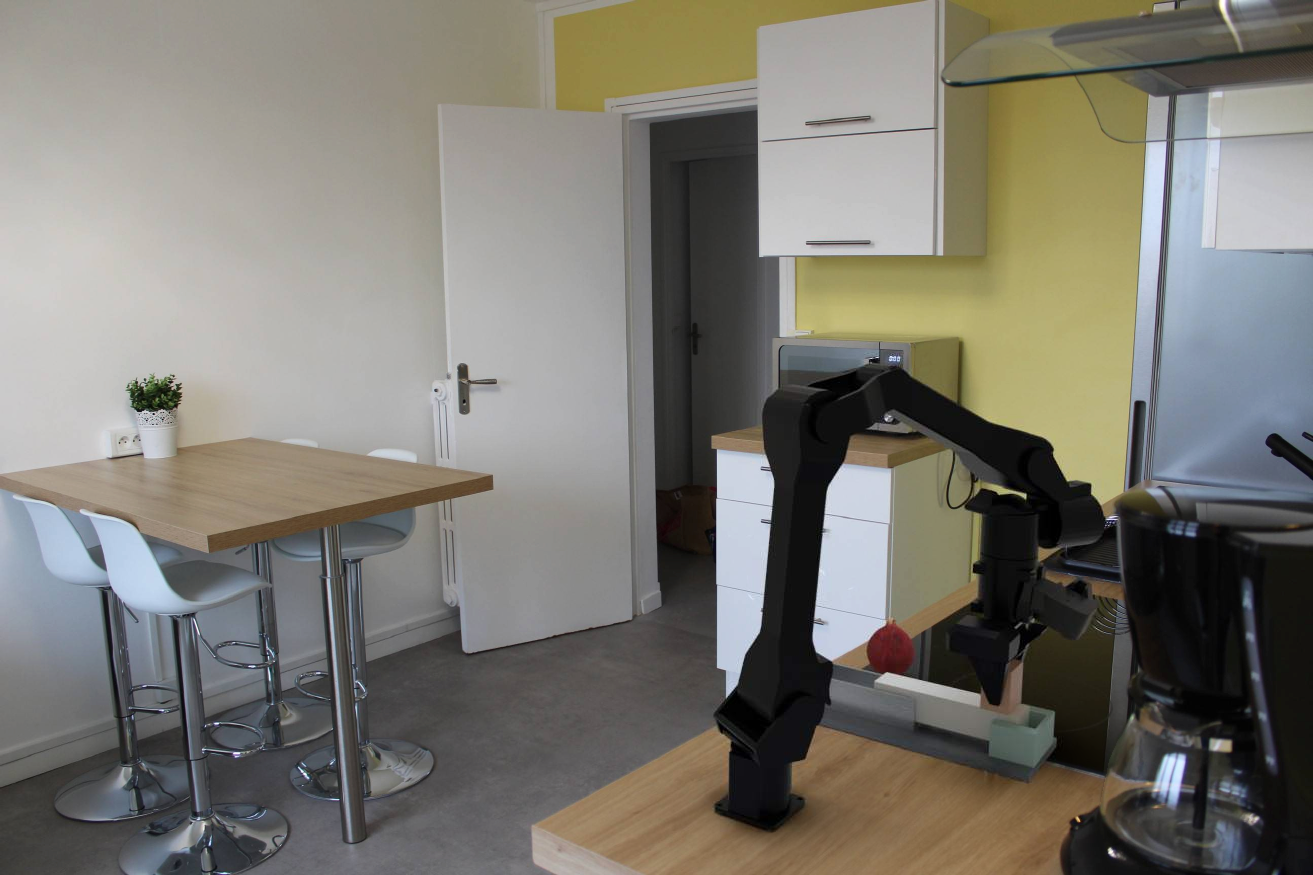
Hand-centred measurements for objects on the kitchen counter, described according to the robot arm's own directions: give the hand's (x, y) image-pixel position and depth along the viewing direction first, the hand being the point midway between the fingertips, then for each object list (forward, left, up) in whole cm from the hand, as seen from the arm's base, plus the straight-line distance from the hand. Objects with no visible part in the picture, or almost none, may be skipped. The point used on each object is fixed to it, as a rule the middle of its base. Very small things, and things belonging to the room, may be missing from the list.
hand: (1001, 698), depth 106 cm
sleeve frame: (0, +8, -6) cm, 10 cm away
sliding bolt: (0, +5, -4) cm, 7 cm away
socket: (0, -2, -6) cm, 6 cm away
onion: (+12, +17, -6) cm, 22 cm away
